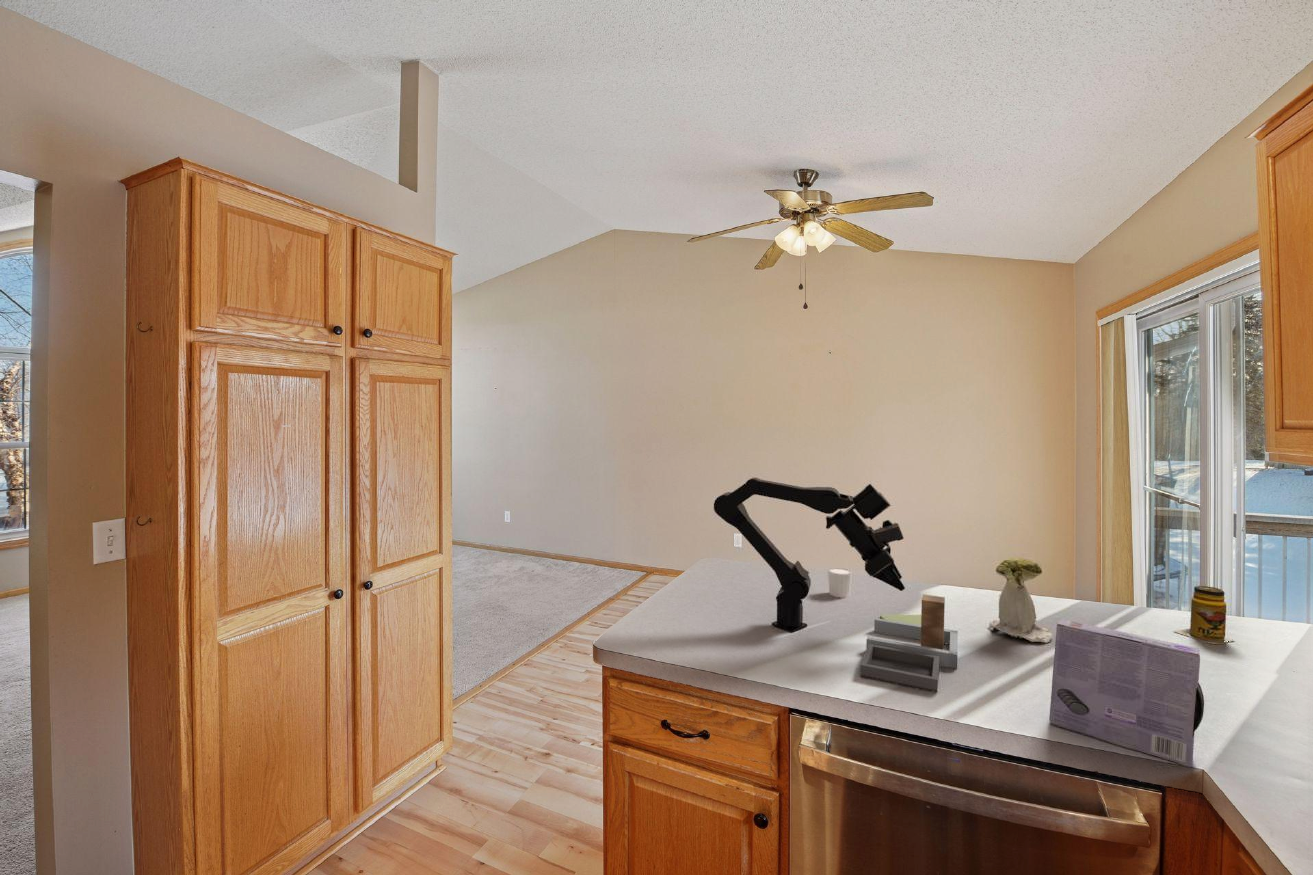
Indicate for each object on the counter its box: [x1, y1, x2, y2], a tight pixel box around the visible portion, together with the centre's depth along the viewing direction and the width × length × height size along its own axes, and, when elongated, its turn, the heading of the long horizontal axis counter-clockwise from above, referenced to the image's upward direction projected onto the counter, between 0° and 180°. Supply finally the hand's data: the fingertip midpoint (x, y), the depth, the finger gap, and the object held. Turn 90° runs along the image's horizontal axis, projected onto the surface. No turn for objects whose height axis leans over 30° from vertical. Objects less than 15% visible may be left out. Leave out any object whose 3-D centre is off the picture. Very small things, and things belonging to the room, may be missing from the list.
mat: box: [879, 614, 921, 625], centre depth 146 cm, size 11×11×1 cm
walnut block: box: [920, 594, 946, 650], centre depth 129 cm, size 4×4×12 cm
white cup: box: [827, 567, 853, 599], centre depth 170 cm, size 7×7×7 cm
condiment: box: [1172, 585, 1236, 645], centre depth 138 cm, size 7×8×12 cm
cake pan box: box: [1048, 618, 1205, 768], centre depth 94 cm, size 19×5×18 cm, turn 48°
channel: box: [865, 617, 959, 670], centre depth 131 cm, size 18×15×3 cm
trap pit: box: [859, 644, 940, 693], centre depth 119 cm, size 14×12×2 cm
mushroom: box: [988, 557, 1053, 644], centre depth 139 cm, size 12×13×18 cm
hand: (901, 583), depth 135 cm, fingers open, 9 cm apart
